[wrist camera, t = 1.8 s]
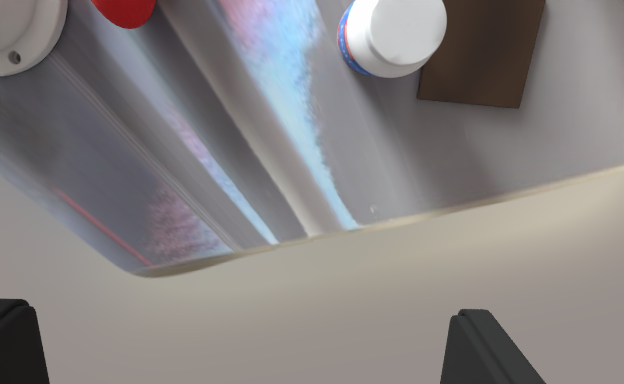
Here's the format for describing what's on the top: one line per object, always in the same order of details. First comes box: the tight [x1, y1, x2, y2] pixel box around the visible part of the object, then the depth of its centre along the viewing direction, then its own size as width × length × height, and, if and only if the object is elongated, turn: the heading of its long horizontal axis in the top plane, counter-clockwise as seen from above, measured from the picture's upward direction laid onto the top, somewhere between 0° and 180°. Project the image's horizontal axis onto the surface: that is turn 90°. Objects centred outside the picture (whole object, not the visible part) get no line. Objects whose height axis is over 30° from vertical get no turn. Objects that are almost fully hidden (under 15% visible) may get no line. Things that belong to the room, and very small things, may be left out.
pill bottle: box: [337, 0, 447, 78], centre depth 24 cm, size 6×5×10 cm
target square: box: [417, 0, 545, 108], centre depth 29 cm, size 8×8×1 cm
